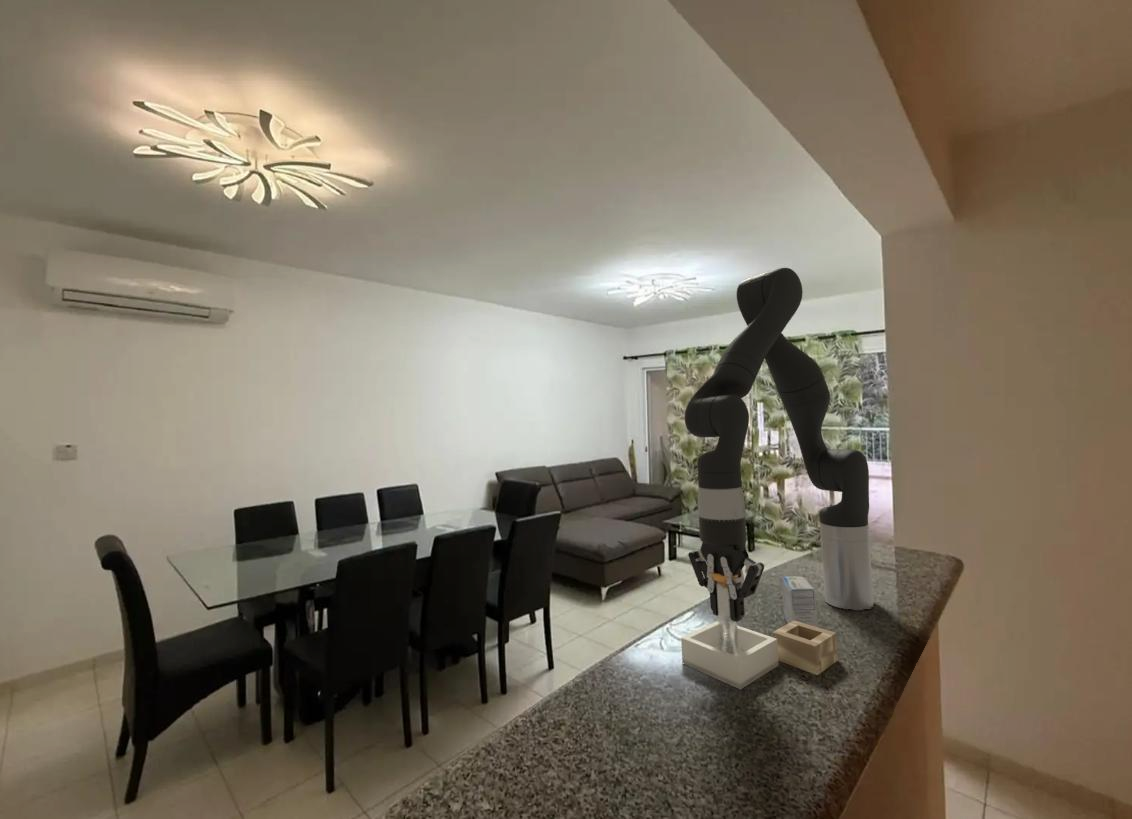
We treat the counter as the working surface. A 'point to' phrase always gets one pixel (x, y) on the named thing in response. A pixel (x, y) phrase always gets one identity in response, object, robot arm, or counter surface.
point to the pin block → (806, 647)
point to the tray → (730, 655)
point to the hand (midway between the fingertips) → (727, 616)
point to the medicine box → (799, 600)
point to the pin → (725, 616)
